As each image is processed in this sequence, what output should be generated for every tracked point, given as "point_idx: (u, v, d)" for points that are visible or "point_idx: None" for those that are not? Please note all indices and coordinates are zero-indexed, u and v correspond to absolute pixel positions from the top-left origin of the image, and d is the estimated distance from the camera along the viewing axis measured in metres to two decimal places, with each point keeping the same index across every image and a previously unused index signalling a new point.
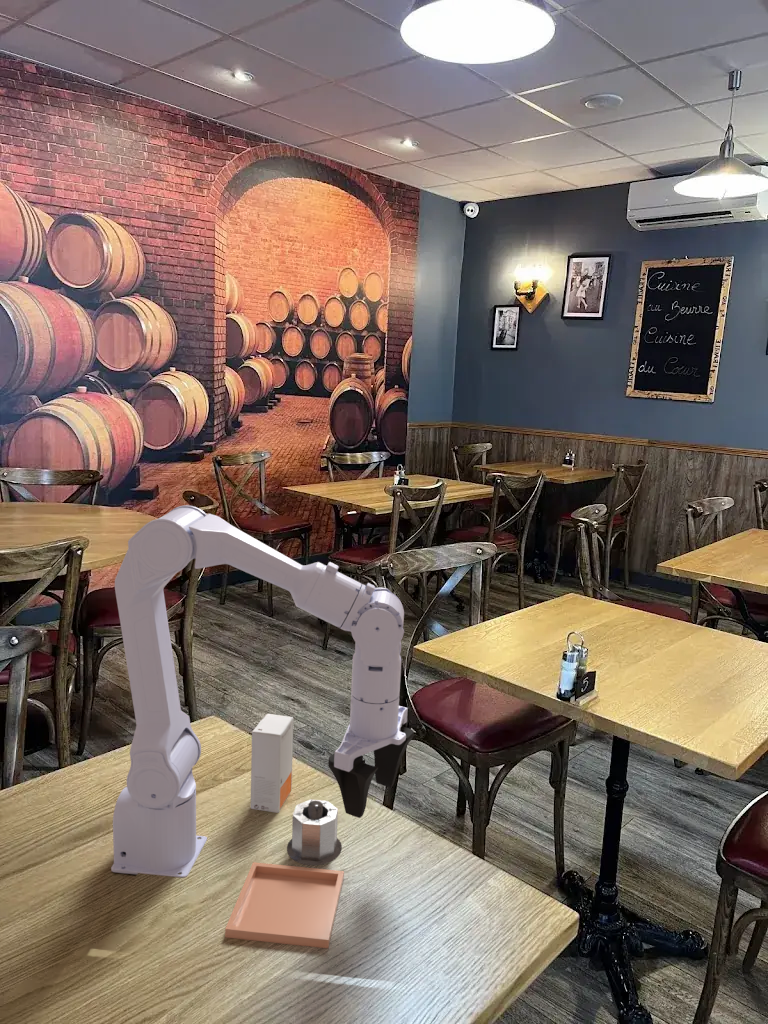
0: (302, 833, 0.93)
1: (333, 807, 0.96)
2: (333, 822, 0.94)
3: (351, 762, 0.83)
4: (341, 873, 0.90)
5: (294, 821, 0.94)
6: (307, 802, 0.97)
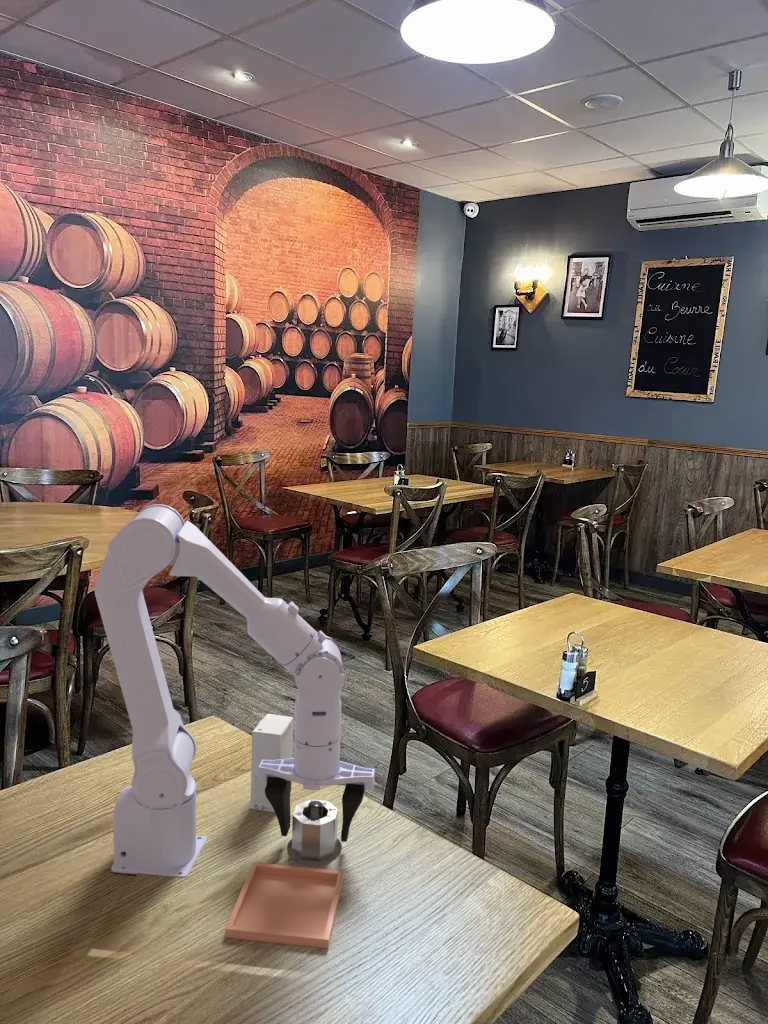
0: (302, 833, 0.93)
1: (333, 807, 0.96)
2: (333, 822, 0.94)
3: (261, 774, 0.94)
4: (341, 873, 0.90)
5: (294, 821, 0.94)
6: (307, 802, 0.97)
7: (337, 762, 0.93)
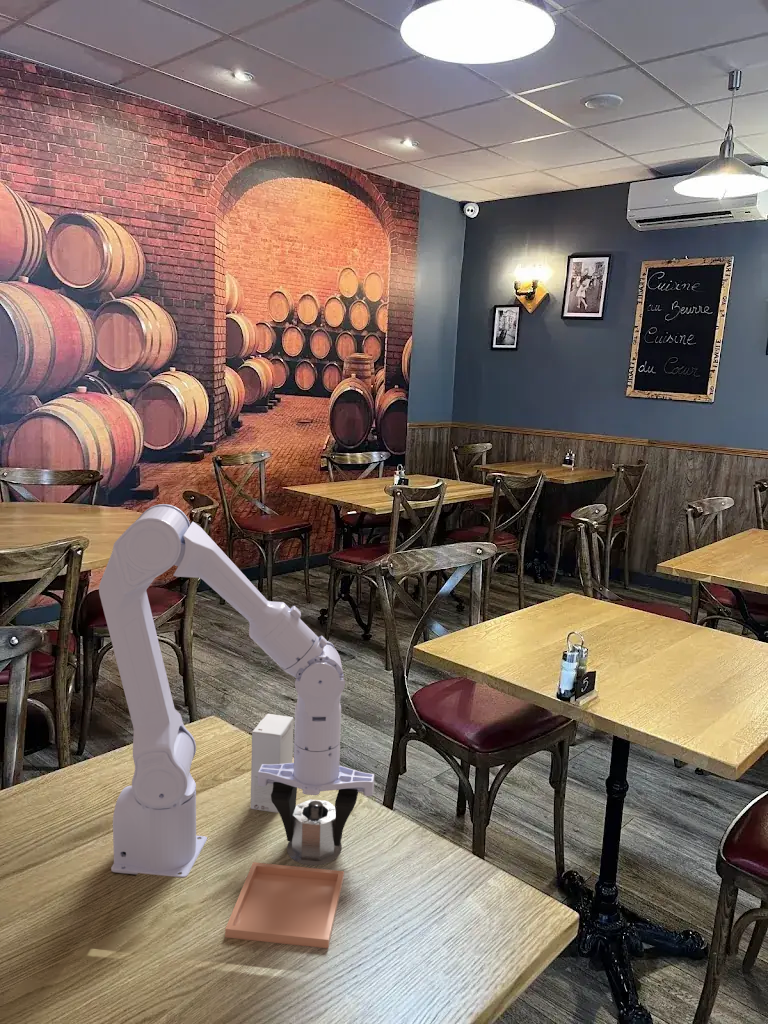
0: (302, 833, 0.93)
1: (333, 807, 0.96)
2: (333, 822, 0.94)
3: (261, 779, 0.94)
4: (341, 873, 0.90)
5: (294, 821, 0.94)
6: (307, 802, 0.97)
7: (337, 767, 0.93)
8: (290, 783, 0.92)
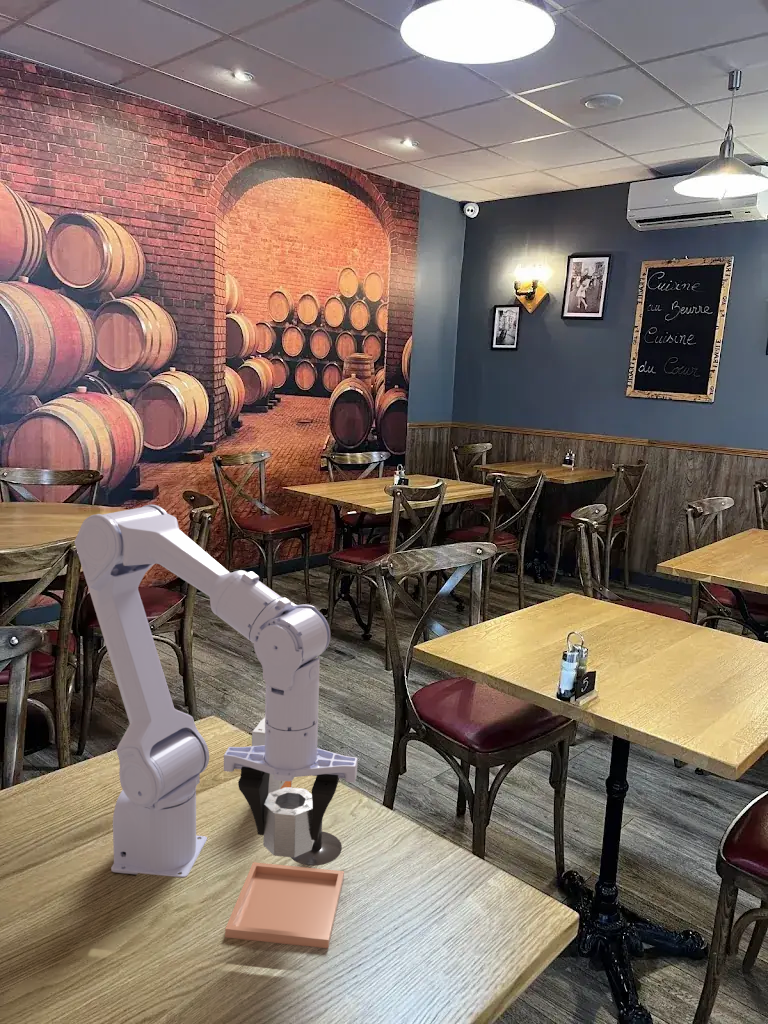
0: (274, 825, 0.81)
1: (311, 795, 0.84)
2: (310, 812, 0.82)
3: (227, 763, 0.82)
4: (341, 873, 0.90)
5: (266, 811, 0.82)
6: (281, 790, 0.85)
7: (314, 749, 0.81)
8: (260, 768, 0.80)
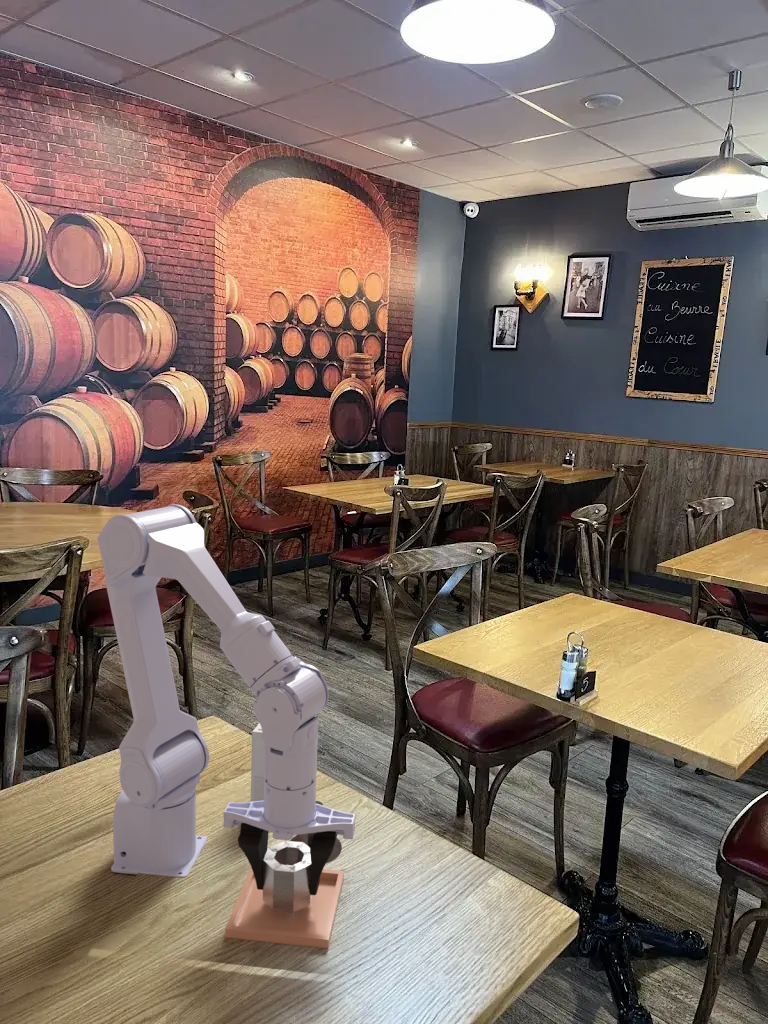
0: (273, 881, 0.82)
1: (309, 850, 0.85)
2: (309, 868, 0.83)
3: (227, 820, 0.83)
4: (341, 873, 0.90)
5: (265, 867, 0.83)
6: (280, 844, 0.86)
7: (312, 807, 0.82)
8: (259, 825, 0.81)
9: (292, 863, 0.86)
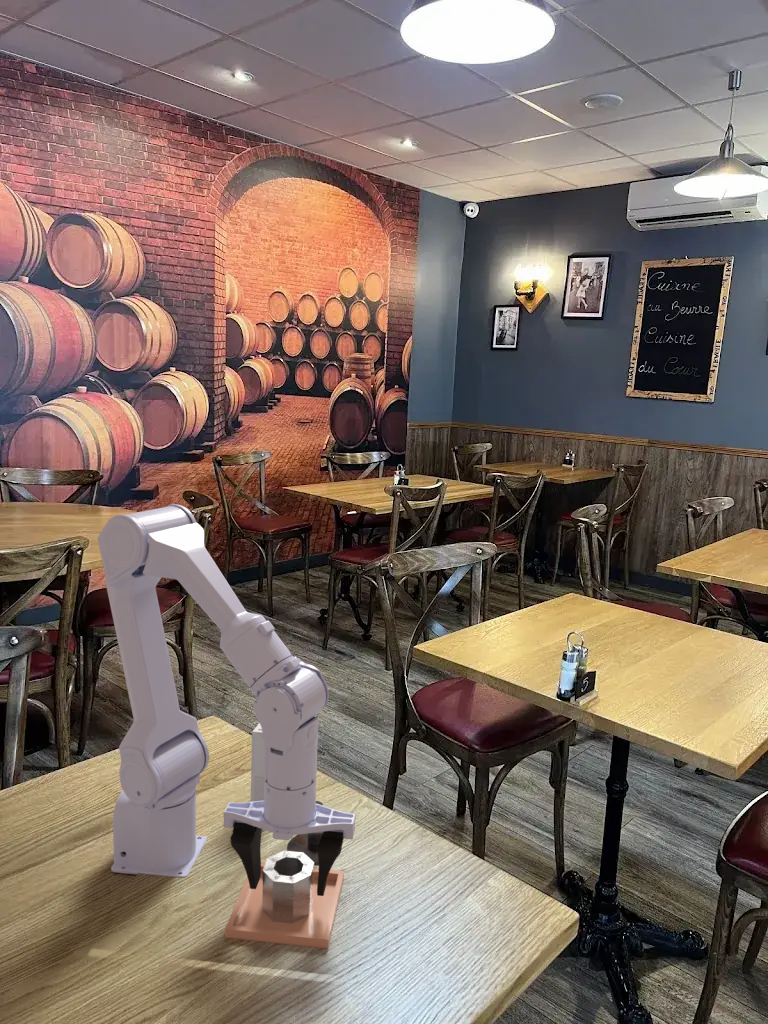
0: (273, 892, 0.82)
1: (309, 860, 0.85)
2: (308, 879, 0.83)
3: (227, 820, 0.83)
4: (341, 873, 0.90)
5: (264, 877, 0.83)
6: (280, 854, 0.86)
7: (312, 807, 0.82)
8: (259, 825, 0.81)
9: (292, 873, 0.86)
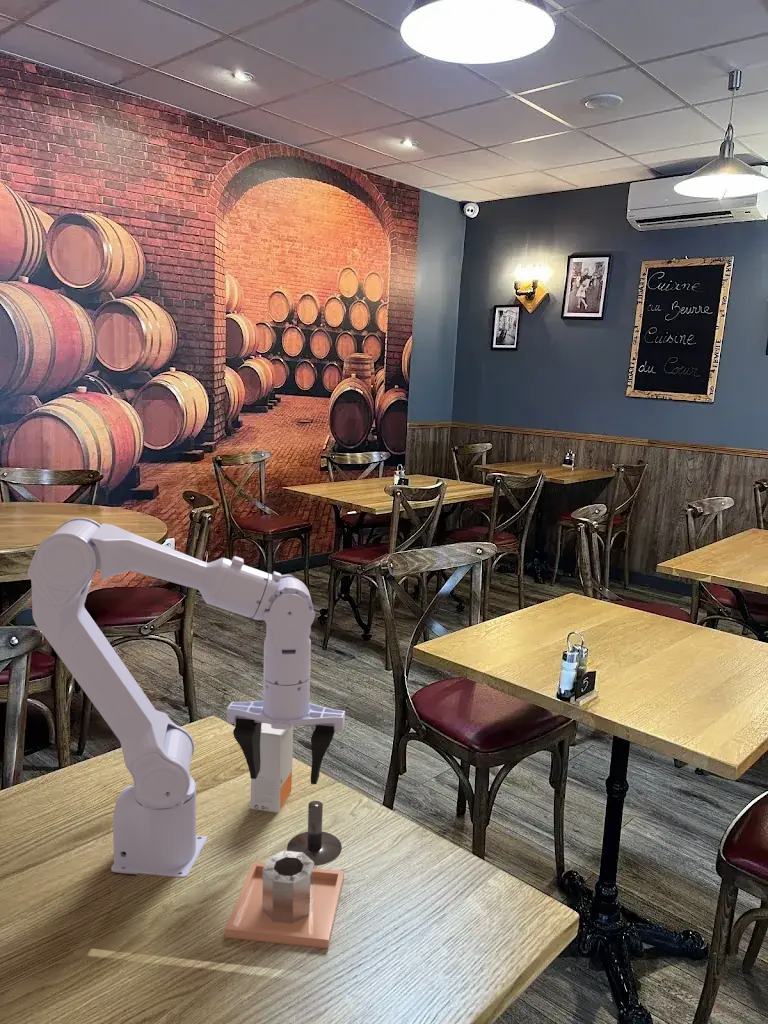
0: (273, 892, 0.82)
1: (309, 860, 0.85)
2: (308, 879, 0.83)
3: (230, 715, 0.93)
4: (341, 873, 0.90)
5: (264, 877, 0.83)
6: (280, 854, 0.86)
7: (306, 703, 0.92)
8: (259, 718, 0.91)
9: (292, 873, 0.86)
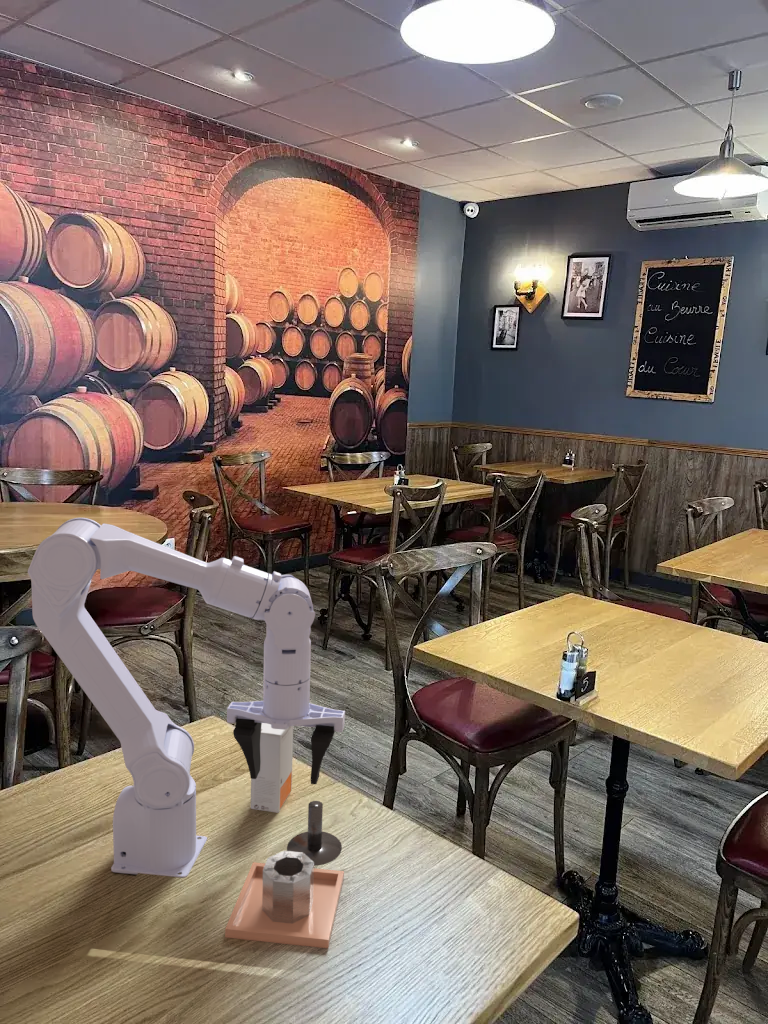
0: (273, 892, 0.82)
1: (309, 860, 0.85)
2: (308, 879, 0.83)
3: (230, 715, 0.93)
4: (341, 873, 0.90)
5: (264, 877, 0.83)
6: (280, 854, 0.86)
7: (306, 703, 0.92)
8: (259, 718, 0.91)
9: (292, 873, 0.86)
